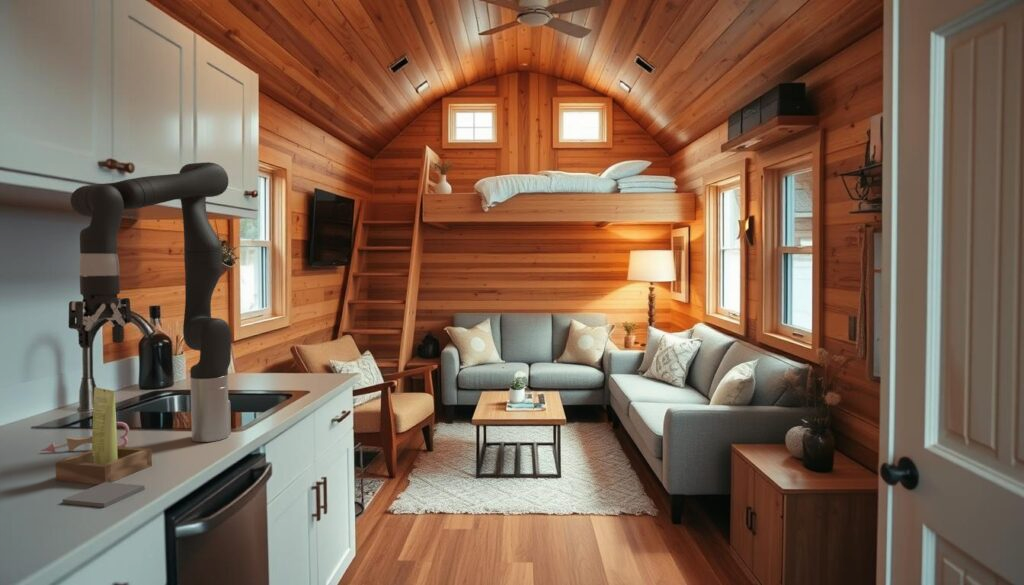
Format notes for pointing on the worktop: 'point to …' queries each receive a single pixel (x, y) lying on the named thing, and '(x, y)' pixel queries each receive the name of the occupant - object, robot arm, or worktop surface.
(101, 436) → the tube
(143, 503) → the worktop surface
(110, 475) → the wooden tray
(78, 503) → the pad
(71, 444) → the decorative key
